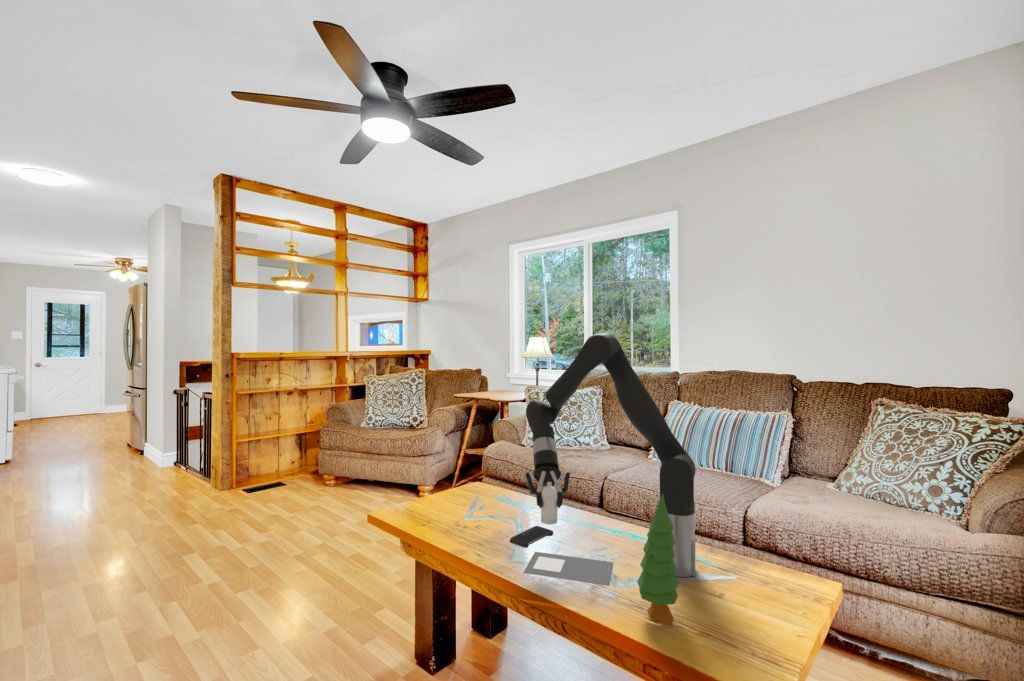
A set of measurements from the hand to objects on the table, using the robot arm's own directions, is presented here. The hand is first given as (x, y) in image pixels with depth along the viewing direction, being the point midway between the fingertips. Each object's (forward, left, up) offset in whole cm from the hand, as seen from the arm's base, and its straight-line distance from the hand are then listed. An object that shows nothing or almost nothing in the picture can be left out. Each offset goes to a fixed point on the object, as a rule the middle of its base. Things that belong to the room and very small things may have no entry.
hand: (550, 506), depth 137 cm
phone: (+11, -21, -19) cm, 30 cm away
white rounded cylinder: (+1, -2, -5) cm, 5 cm away
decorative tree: (-29, +15, -18) cm, 38 cm away
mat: (-5, -2, -18) cm, 19 cm away
